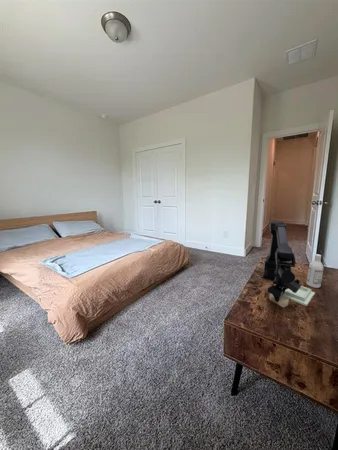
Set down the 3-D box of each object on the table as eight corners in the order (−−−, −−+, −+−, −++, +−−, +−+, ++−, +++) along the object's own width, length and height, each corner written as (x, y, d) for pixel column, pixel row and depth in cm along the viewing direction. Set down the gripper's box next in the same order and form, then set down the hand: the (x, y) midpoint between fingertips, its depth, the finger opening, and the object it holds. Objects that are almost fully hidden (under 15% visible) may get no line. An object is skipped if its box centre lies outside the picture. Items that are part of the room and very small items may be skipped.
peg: (269, 299, 104) (269, 292, 103) (273, 297, 106) (274, 290, 105) (283, 307, 97) (284, 300, 96) (288, 305, 99) (289, 298, 98)
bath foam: (322, 286, 116) (328, 255, 111) (316, 289, 113) (321, 258, 108) (310, 281, 122) (315, 252, 117) (304, 283, 119) (308, 254, 114)
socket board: (273, 293, 110) (274, 288, 109) (283, 283, 120) (284, 279, 119) (306, 306, 98) (307, 301, 97) (314, 294, 108) (315, 289, 107)
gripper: (293, 285, 86) (289, 315, 89) (305, 272, 98) (301, 299, 101) (268, 276, 94) (265, 304, 97) (282, 265, 106) (279, 290, 109)
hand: (278, 299), depth 101 cm, fingers closed on peg, 5 cm apart
